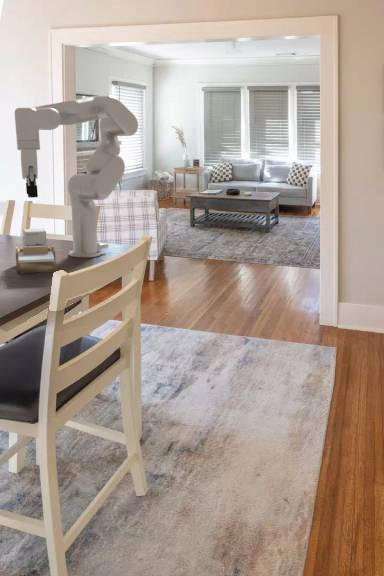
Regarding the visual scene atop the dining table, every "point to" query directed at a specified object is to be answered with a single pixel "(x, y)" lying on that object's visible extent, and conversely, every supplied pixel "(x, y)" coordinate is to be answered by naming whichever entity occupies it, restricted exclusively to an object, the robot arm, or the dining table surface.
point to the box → (35, 264)
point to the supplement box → (34, 237)
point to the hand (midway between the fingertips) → (32, 195)
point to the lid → (35, 254)
